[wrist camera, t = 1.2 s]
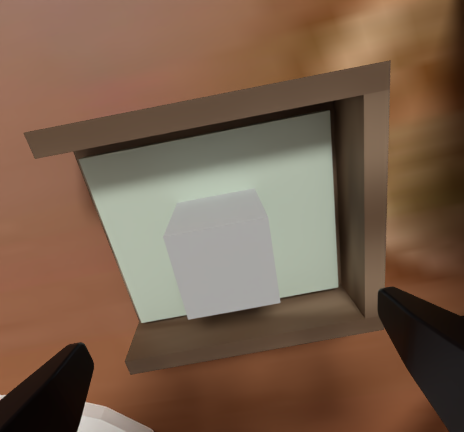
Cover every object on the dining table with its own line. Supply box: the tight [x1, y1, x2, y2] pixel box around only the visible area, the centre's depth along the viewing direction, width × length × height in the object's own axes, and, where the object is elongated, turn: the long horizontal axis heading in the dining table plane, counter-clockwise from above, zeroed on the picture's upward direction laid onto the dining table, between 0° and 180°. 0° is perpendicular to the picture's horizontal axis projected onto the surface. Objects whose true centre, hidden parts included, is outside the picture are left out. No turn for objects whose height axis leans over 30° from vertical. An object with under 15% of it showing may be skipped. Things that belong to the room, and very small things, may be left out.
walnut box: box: [24, 60, 391, 375], centre depth 15 cm, size 13×14×4 cm
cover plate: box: [78, 110, 338, 323], centre depth 13 cm, size 10×12×5 cm
